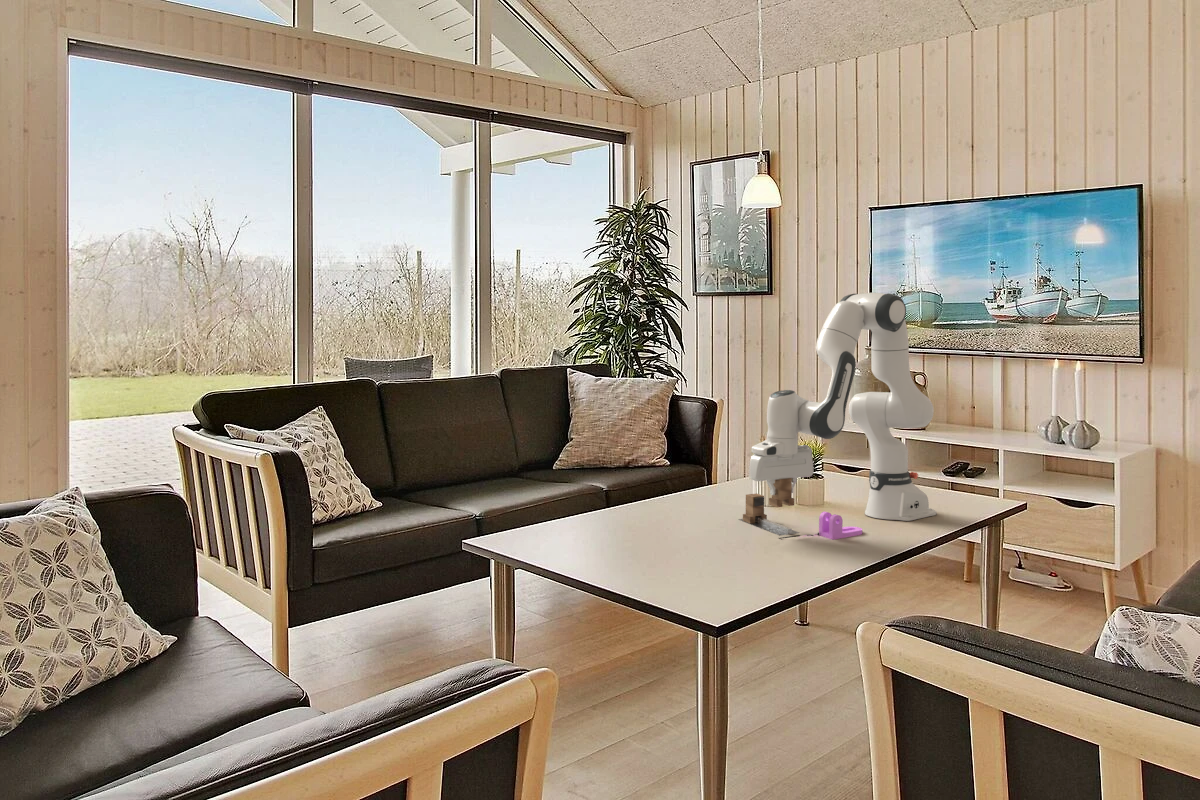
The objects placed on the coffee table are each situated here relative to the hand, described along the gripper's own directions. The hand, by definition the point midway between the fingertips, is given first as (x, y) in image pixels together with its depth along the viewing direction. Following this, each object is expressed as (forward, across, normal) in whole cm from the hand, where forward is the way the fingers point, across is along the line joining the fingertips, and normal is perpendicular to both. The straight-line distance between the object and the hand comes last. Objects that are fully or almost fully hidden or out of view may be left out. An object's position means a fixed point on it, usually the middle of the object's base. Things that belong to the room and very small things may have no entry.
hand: (781, 493), depth 258 cm
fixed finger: (+11, 0, -14) cm, 18 cm away
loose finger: (+3, 0, 0) cm, 3 cm away
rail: (+12, 0, -7) cm, 14 cm away
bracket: (+12, -16, +8) cm, 22 cm away
